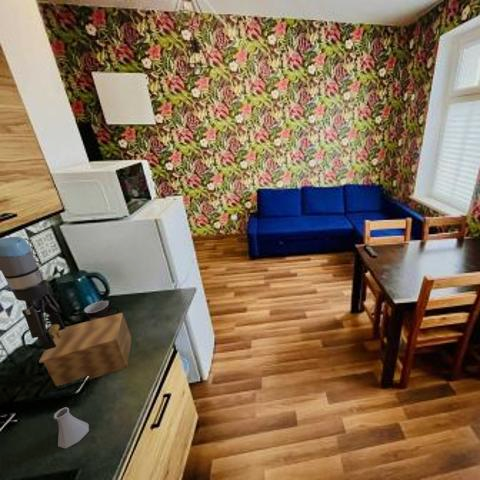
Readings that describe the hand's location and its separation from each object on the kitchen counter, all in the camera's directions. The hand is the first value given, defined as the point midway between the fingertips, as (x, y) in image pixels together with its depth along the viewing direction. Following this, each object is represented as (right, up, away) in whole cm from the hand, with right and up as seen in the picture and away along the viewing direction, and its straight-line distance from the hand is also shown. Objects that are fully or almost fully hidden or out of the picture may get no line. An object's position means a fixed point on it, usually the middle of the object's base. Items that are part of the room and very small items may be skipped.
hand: (55, 338), depth 94 cm
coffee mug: (-5, -5, +29) cm, 30 cm away
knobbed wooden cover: (+7, -1, +4) cm, 8 cm away
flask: (+21, -23, -15) cm, 35 cm away
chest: (+7, -13, +10) cm, 17 cm away
